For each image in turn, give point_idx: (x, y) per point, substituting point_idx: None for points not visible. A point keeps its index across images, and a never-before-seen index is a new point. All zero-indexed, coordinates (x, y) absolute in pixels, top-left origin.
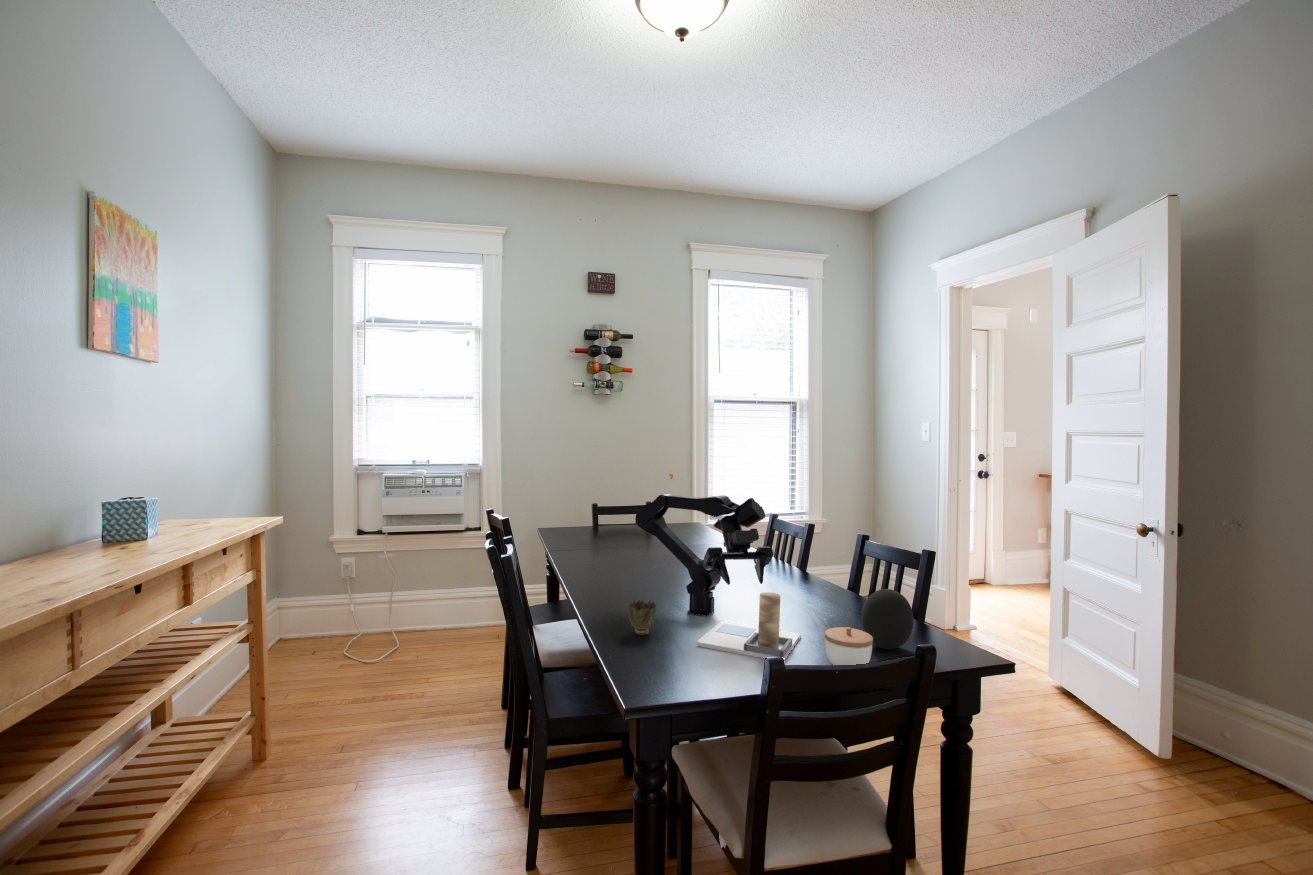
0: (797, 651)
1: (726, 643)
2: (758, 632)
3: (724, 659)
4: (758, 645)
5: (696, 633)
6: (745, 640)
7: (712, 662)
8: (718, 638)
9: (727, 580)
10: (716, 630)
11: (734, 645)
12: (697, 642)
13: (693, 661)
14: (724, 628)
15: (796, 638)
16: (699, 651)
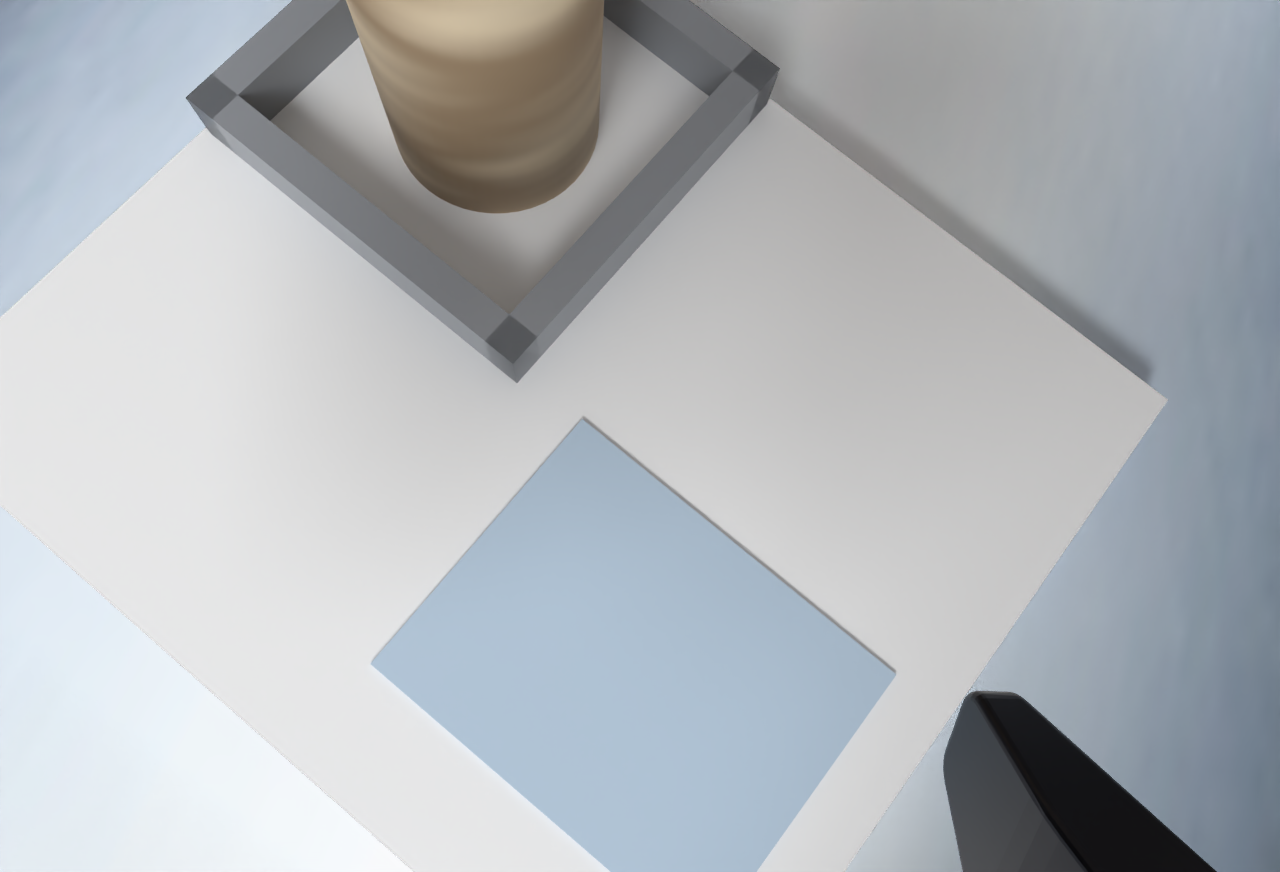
0: None
1: (878, 297)
2: (594, 68)
3: (965, 61)
4: (597, 124)
5: None
6: (649, 339)
7: (1081, 27)
8: (921, 446)
9: (1072, 759)
10: (876, 695)
11: (815, 230)
12: (1156, 399)
13: (1232, 77)
14: (756, 753)
15: (50, 284)
16: (1142, 268)
